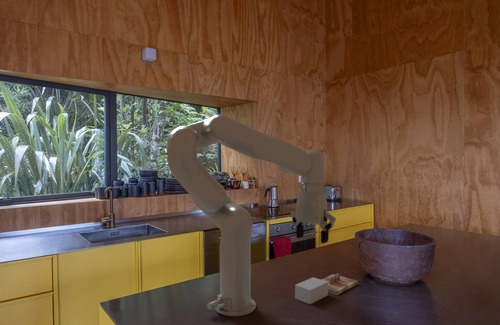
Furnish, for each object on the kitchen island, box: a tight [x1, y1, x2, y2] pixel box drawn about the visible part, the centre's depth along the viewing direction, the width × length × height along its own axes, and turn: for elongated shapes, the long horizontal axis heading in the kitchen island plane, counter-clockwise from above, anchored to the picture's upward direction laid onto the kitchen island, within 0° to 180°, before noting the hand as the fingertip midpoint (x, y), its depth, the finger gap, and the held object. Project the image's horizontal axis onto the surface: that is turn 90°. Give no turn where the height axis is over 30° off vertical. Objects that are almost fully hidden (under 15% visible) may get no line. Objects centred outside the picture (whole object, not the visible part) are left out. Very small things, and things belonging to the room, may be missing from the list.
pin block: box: [320, 272, 359, 296], centre depth 124 cm, size 14×10×4 cm
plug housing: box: [294, 277, 329, 305], centre depth 115 cm, size 10×6×4 cm, turn 134°
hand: (311, 239), depth 116 cm, fingers open, 9 cm apart
